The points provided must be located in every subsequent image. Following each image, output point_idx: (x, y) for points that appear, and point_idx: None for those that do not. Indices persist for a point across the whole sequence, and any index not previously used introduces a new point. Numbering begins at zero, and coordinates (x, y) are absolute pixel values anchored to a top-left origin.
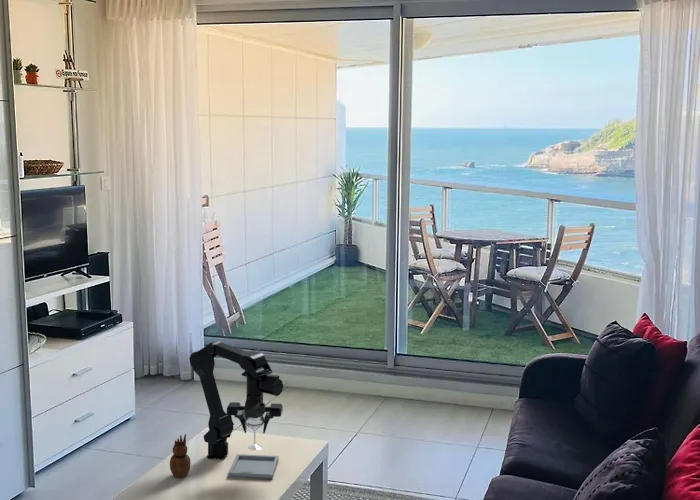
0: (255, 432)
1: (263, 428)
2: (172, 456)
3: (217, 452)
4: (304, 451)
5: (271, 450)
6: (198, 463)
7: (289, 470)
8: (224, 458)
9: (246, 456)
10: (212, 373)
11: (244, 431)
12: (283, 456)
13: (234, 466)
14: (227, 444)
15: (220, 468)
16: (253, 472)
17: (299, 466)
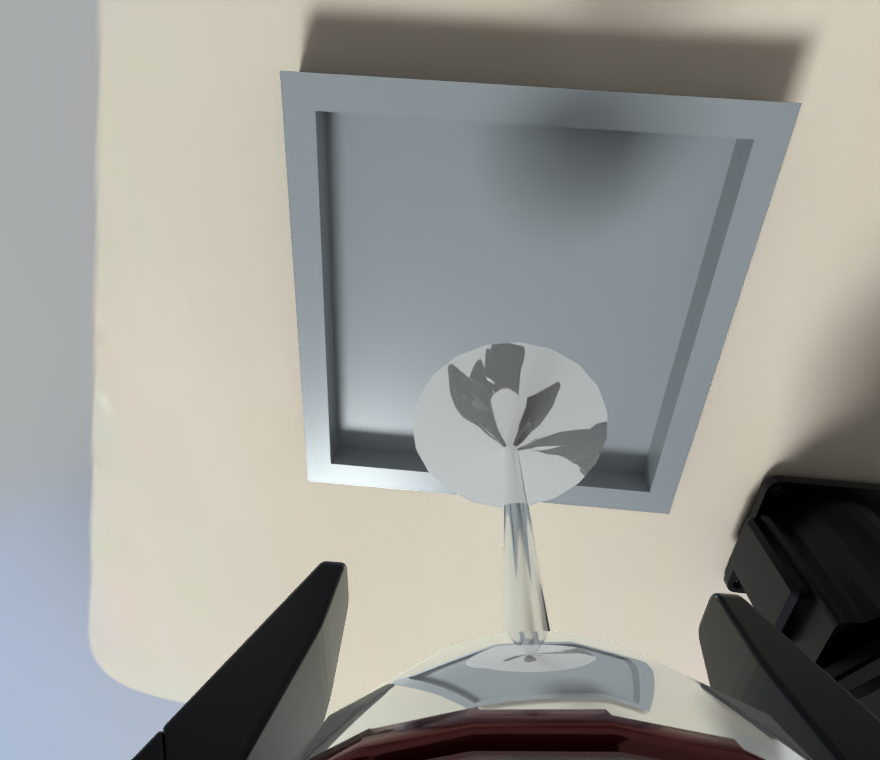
0: (509, 596)
1: (300, 655)
2: None
3: (859, 526)
4: (171, 578)
5: (399, 597)
6: None
7: (188, 287)
8: (768, 482)
9: (583, 482)
10: None
11: (765, 620)
12: (297, 517)
13: (709, 282)
14: (782, 608)
15: (824, 320)
16: (502, 121)
17: (129, 361)
